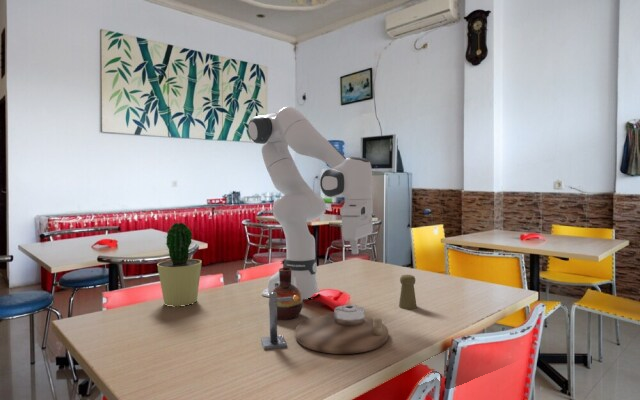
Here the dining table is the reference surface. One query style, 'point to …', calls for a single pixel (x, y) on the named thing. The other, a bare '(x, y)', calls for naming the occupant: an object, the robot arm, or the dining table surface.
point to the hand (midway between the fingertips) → (359, 251)
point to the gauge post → (275, 323)
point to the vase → (287, 290)
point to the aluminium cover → (349, 315)
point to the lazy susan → (341, 335)
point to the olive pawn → (407, 292)
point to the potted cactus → (179, 268)
